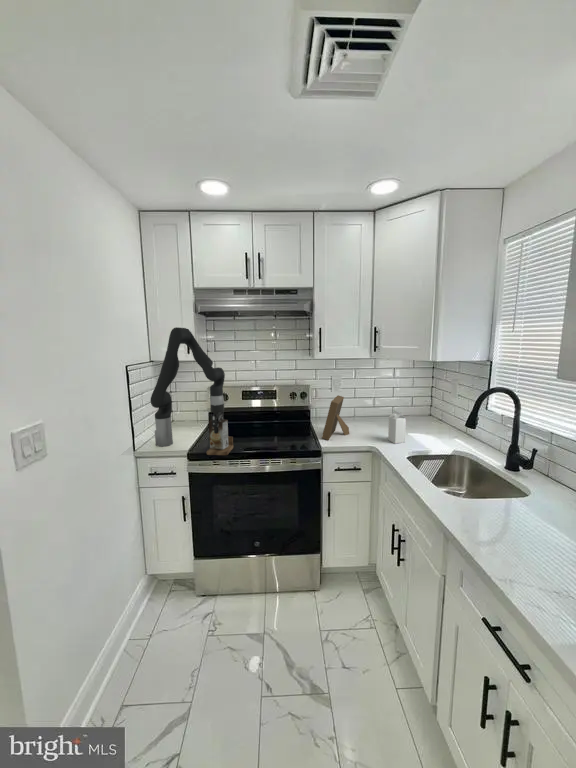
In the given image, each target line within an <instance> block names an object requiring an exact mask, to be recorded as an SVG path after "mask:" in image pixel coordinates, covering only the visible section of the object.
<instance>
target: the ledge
mask: <svg viewBox="0 0 576 768" xmlns="http://www.w3.org/2000/svg"><path fill="white" fill-rule="evenodd" d="M233 449H234V436H228V447H226V448H225V449H215V448H210V447H209V449H207V450H206V455H208V456H228V455H229V453H231V451H232V450H233Z"/></svg>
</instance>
